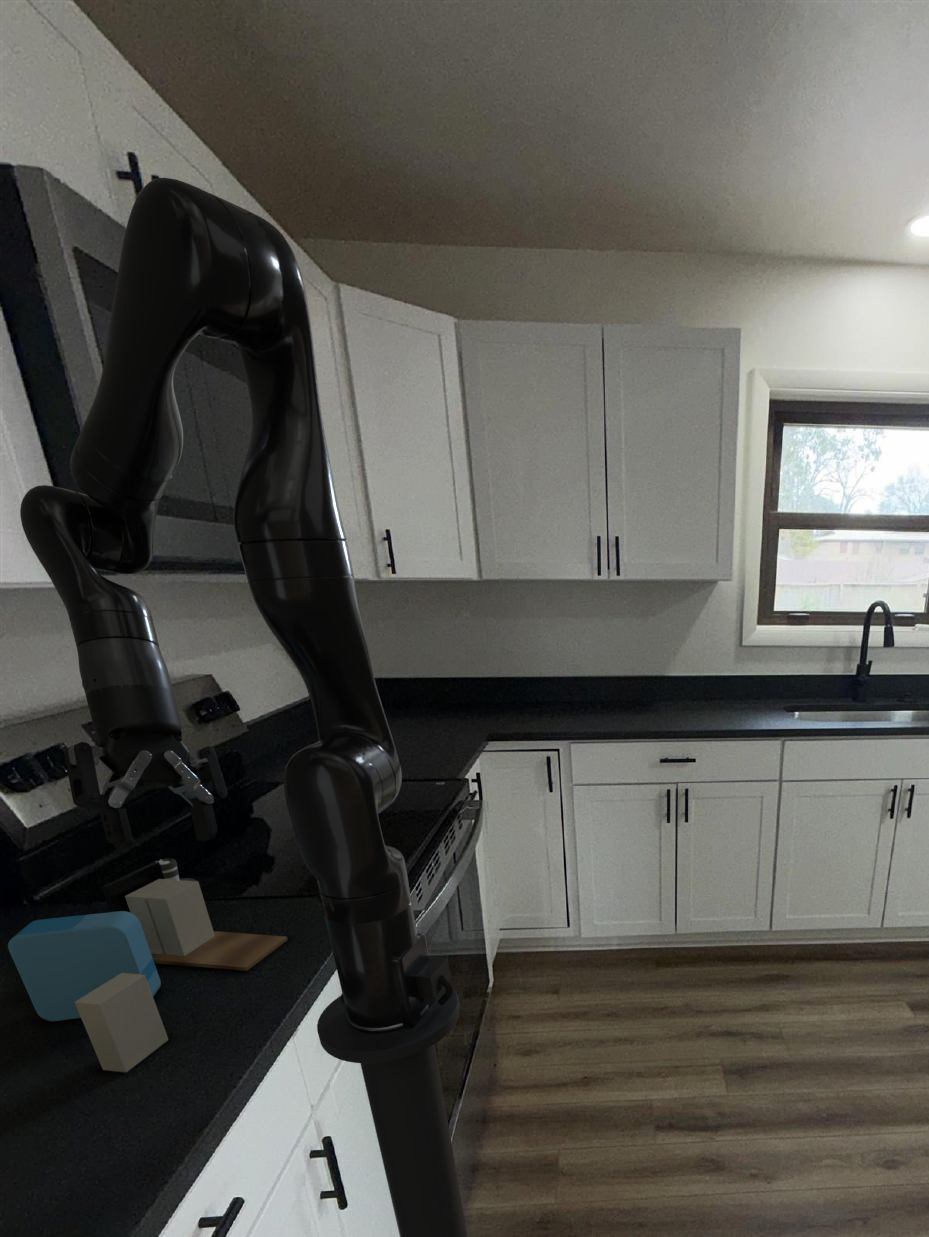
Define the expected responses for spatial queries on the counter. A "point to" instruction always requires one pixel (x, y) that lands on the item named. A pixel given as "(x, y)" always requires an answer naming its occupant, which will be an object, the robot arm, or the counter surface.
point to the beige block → (122, 1021)
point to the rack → (183, 923)
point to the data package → (79, 958)
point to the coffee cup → (171, 870)
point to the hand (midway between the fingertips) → (168, 843)
